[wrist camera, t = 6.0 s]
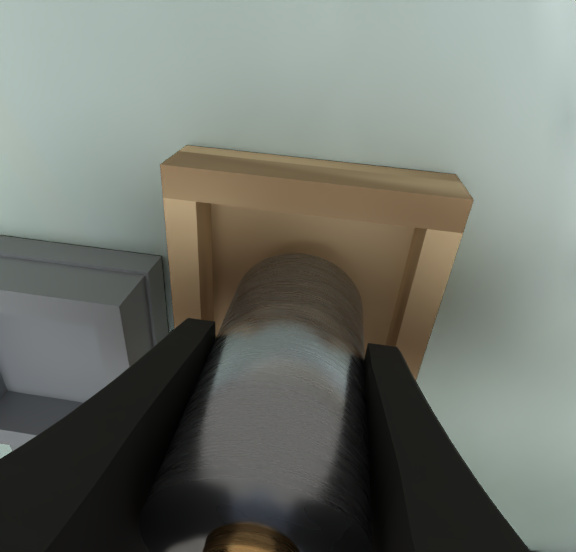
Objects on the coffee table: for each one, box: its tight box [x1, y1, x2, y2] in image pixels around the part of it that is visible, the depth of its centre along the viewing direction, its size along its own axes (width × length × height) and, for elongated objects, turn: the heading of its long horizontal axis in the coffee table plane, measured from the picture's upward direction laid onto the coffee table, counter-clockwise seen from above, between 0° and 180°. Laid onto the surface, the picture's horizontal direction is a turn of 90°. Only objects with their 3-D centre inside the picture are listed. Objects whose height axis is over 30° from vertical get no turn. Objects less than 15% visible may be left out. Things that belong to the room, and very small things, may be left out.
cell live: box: [139, 253, 373, 552], centre depth 8 cm, size 3×3×6 cm
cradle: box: [0, 236, 169, 451], centre depth 15 cm, size 10×7×3 cm
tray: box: [160, 145, 473, 380], centre depth 13 cm, size 10×7×2 cm
